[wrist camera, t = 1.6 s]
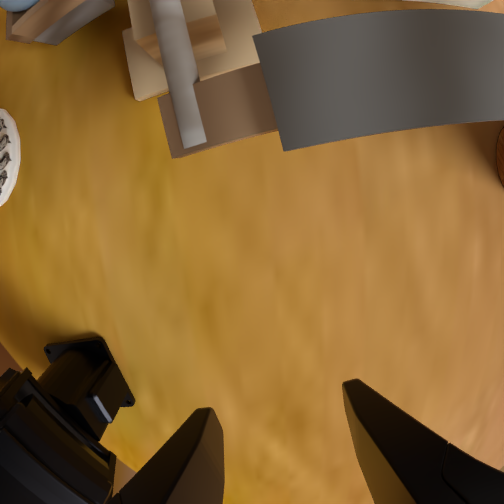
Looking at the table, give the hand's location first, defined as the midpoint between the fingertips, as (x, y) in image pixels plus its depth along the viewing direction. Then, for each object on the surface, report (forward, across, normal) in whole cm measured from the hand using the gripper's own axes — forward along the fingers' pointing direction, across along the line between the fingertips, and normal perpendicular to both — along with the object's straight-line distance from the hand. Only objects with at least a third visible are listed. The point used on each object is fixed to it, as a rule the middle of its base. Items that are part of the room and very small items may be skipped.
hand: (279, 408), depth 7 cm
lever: (+9, -1, -16) cm, 18 cm away
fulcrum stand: (+13, +1, -18) cm, 22 cm away
